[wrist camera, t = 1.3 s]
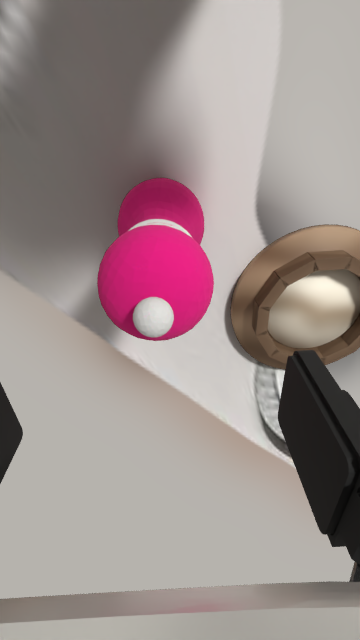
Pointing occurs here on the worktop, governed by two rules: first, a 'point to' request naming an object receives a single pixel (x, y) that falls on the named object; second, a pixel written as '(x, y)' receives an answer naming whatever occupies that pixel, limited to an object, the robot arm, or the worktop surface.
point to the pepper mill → (157, 263)
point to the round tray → (301, 296)
